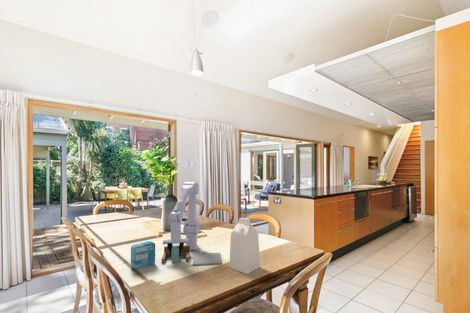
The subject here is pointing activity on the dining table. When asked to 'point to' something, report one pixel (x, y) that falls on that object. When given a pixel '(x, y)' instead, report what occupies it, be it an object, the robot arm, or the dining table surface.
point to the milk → (244, 247)
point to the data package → (142, 254)
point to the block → (175, 253)
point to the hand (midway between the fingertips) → (175, 256)
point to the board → (206, 259)
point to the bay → (184, 252)
